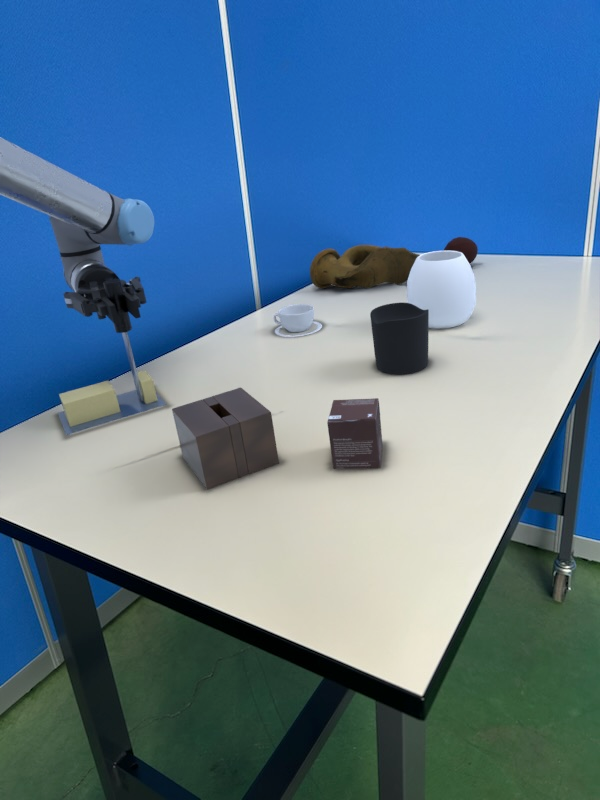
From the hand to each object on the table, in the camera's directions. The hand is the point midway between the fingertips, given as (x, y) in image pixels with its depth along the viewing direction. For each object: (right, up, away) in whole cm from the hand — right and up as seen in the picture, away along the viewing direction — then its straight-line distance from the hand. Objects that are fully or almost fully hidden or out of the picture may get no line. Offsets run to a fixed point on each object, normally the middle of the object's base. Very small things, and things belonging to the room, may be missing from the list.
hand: (125, 311), depth 93 cm
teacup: (+26, +1, +37) cm, 45 cm away
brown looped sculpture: (+43, +15, +61) cm, 76 cm away
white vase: (+54, +2, +31) cm, 62 cm away
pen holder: (+43, -8, +13) cm, 46 cm away
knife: (-1, -13, +11) cm, 17 cm away
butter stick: (-8, -15, +8) cm, 19 cm away
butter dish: (-5, -15, +10) cm, 19 cm away
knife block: (+17, -22, -9) cm, 29 cm away
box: (+34, -21, -12) cm, 42 cm away
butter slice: (0, -13, +12) cm, 17 cm away
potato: (+67, +21, +68) cm, 98 cm away
